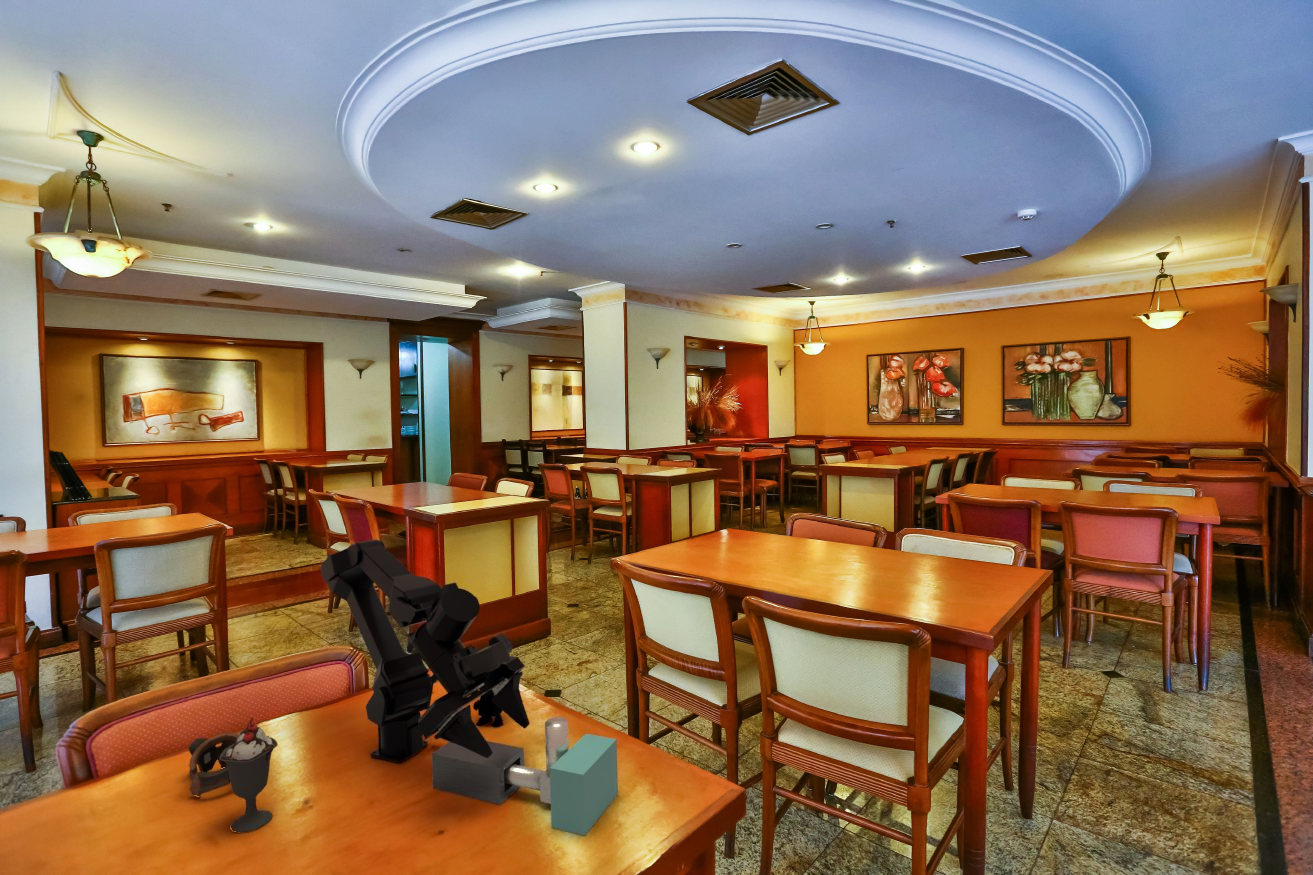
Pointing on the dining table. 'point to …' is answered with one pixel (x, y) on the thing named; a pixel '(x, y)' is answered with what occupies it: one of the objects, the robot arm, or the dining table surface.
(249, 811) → the sundae
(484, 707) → the cat figurine
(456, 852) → the dining table surface
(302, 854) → the dining table surface
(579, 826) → the teal block
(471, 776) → the grey rectangular box
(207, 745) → the strapped goggles
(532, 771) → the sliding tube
